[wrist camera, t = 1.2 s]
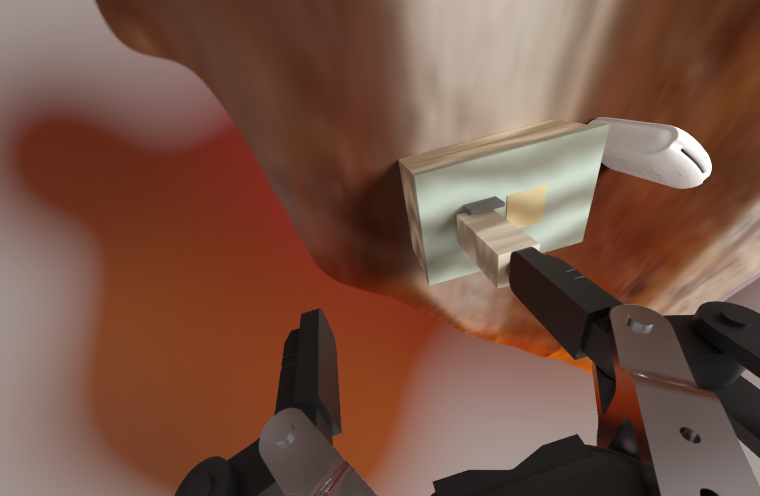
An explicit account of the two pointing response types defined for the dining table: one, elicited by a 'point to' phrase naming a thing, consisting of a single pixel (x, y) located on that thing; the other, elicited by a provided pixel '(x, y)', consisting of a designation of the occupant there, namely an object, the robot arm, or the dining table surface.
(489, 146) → the rectangular block
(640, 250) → the dining table surface
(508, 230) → the wooden knobbed block
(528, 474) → the robot arm
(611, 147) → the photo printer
